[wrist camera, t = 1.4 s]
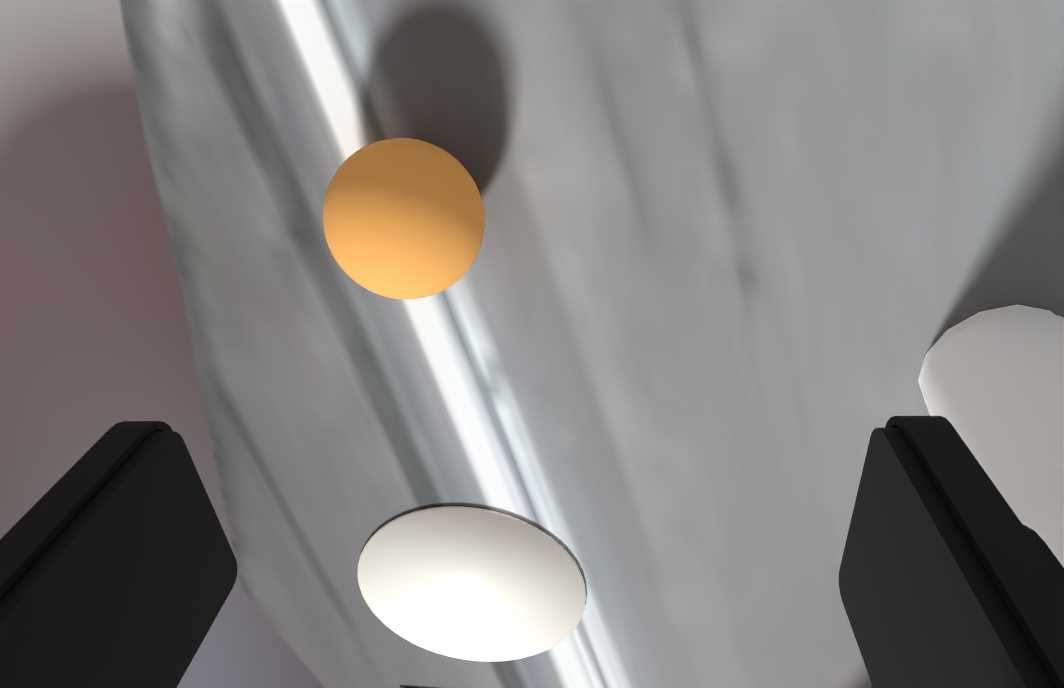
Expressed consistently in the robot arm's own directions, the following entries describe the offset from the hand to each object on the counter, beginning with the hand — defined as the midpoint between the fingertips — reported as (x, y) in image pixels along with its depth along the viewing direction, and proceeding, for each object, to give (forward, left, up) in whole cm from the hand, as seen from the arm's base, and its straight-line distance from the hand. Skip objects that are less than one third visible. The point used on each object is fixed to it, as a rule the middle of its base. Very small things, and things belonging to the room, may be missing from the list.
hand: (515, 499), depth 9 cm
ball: (+2, -6, -17) cm, 18 cm away
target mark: (+27, -6, -20) cm, 35 cm away
